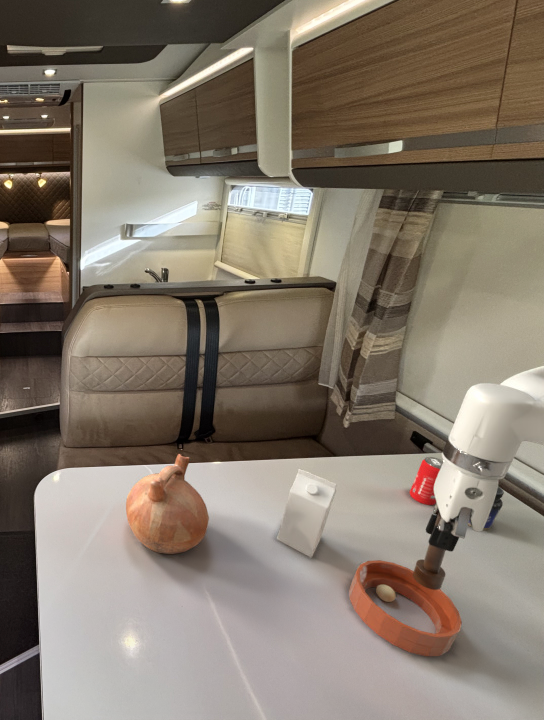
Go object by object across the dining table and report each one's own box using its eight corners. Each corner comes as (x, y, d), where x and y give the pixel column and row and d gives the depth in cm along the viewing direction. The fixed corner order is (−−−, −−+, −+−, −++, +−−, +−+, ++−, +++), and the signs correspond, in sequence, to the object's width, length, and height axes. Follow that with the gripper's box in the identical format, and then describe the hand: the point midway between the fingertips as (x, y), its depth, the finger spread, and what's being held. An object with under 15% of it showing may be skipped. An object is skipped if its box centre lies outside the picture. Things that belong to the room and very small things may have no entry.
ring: (440, 605, 84) (451, 584, 82) (457, 677, 72) (471, 655, 70) (347, 568, 92) (354, 548, 90) (349, 628, 80) (358, 607, 78)
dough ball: (383, 595, 86) (398, 591, 84) (385, 607, 84) (400, 603, 82) (371, 583, 87) (386, 578, 85) (372, 594, 84) (388, 590, 83)
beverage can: (416, 506, 108) (432, 468, 104) (403, 492, 113) (418, 455, 108) (439, 509, 107) (457, 470, 103) (425, 494, 112) (441, 457, 107)
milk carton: (285, 524, 103) (303, 461, 96) (319, 541, 98) (340, 476, 91) (275, 541, 99) (293, 476, 91) (310, 560, 94) (332, 493, 87)
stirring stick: (441, 578, 79) (462, 514, 74) (441, 594, 77) (463, 529, 71) (413, 567, 82) (431, 505, 77) (412, 582, 79) (431, 518, 74)
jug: (175, 585, 89) (187, 511, 81) (107, 533, 101) (112, 465, 94) (217, 537, 100) (232, 468, 92) (152, 495, 113) (160, 432, 105)
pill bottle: (454, 523, 103) (471, 487, 99) (454, 509, 107) (470, 474, 103) (490, 537, 99) (509, 500, 95) (488, 522, 103) (507, 486, 99)
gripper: (525, 496, 61) (479, 586, 68) (493, 439, 73) (456, 520, 80) (455, 477, 65) (417, 564, 72) (435, 426, 77) (405, 504, 84)
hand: (438, 540), depth 76 cm, fingers closed on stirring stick, 2 cm apart
